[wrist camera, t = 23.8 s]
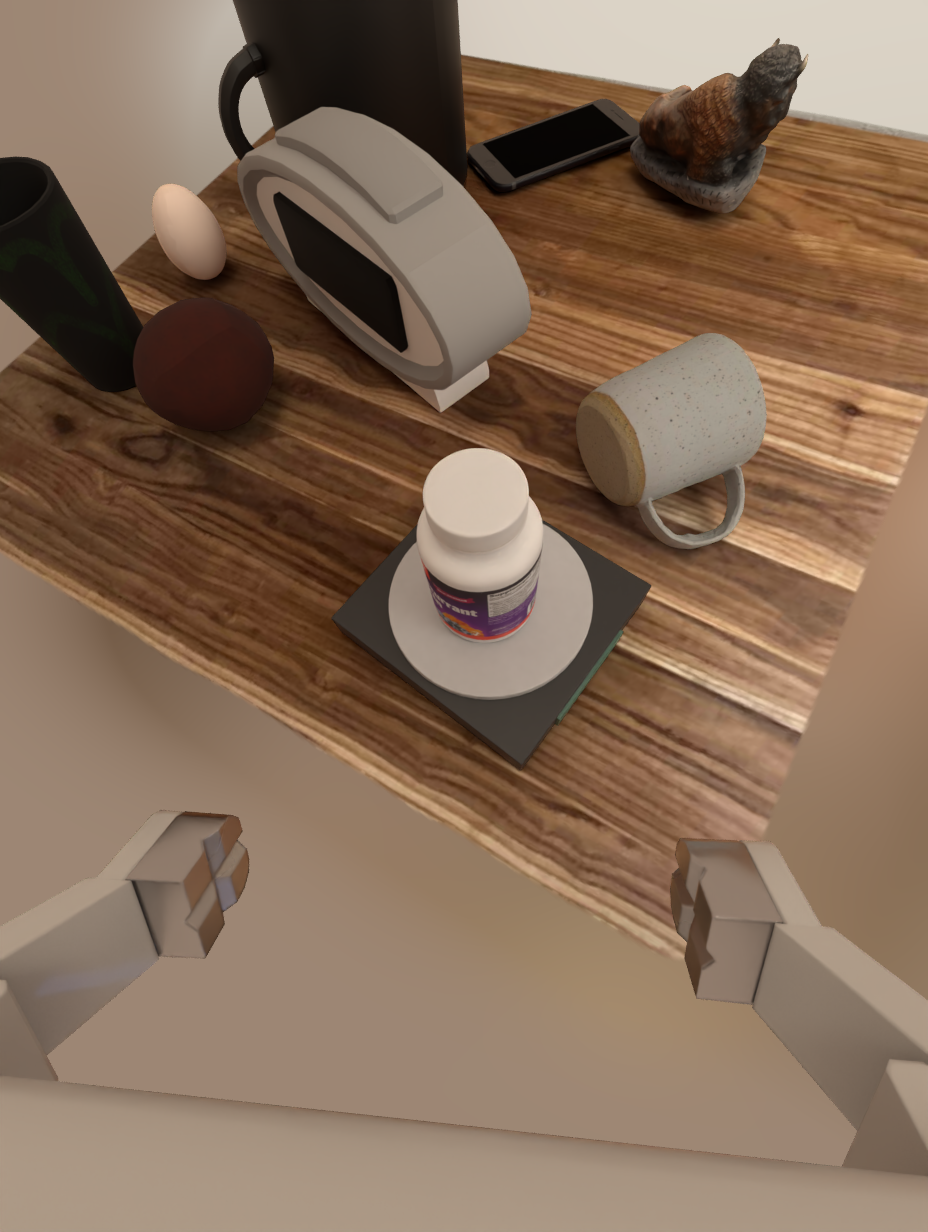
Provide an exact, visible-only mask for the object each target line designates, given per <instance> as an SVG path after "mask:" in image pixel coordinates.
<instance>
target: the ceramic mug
mask: <svg viewBox="0 0 928 1232" xmlns="http://www.w3.org/2000/svg"><path fill="white" fill-rule="evenodd" d="M766 415H767V414H766V403H765V397H764V392H763V388H762V385H761V382H760V379H759V376H758V373H757V371H756V368H755V366H754V365H753V363H752V362H751V360H750V358H749V357H748V356H747V355H746V353H745V352H744V350H743V349H742V348H741V347H740V346H739V345H738V344H737V343H735V342H734V341H733V340H731V339H729V338H727V337H725V336H724V335H720V334H716V333H706V334H702V335H699V336H697V337H695V338H693V339H691V340H689V341H687V342H685V343H683V344H681V345H679V346H677V347H675V348H673V349H671V350H669V351H667V352H665V353H663V354H661V355H659V356H657V357H655V358H653V359H651V360H649V361H647V362H645V363H643V364H641V365H639V366H637V367H635V368H633V369H631V370H629V371H627V372H624V373H622V374H620V375H618V376H616V377H614V378H612V379H610V380H608V381H607V382H605V383H603V384H602V385H600V386H599V387H598V388H596V389H595V390H594V391H592V392H591V393H589V394H588V395H587V396H586V397H585V398H584V400H583V401H582V402H581V405H580V407H579V409H578V413H577V418H576V436H577V442H578V447H579V450H580V454H581V457H582V460H583V463H584V465H585V468H586V470H587V471H588V473H589V475H590V477H591V479H592V481H593V482H594V484H595V485H596V487H597V488H598V489H599V491H600V492H601V493H602V494H603V495H604V496H605V497H606V498H607V499H609V500H610V501H612V502H614V503H616V504H618V505H621V506H637V507H638V509H639V512H640V514H641V517H642V520H643V522H644V524H645V525H646V526H647V527H648V529H649V530H650V531H651V533H652V534H653V535H654V536H655V537H656V538H657V539H658V540H660V541H661V542H663V543H664V544H666V545H668V546H671V547H675V548H680V549H694V548H698V547H702V546H705V545H708V544H711V543H714V542H717V541H719V540H721V539H723V538H724V537H726V536H727V535H728V534H730V533H731V532H732V530H733V529H734V528H735V527H736V525H737V523H738V521H739V519H740V517H741V514H742V511H743V507H744V500H745V486H744V480H743V475H742V470H741V467H740V465H742V464H744V463H746V462H747V461H748V460H749V459H750V458H751V457H752V456H753V455H754V454H755V453H756V452H757V450H758V449H759V447H760V444H761V442H762V440H763V437H764V432H765V427H766ZM720 474H723V476H724V480H725V484H726V490H727V510H726V514H725V517H724V520H723V522H722V523H721V525H719V526H718V527H717V528H715V529H713V530H710V531H707V532H704V533H701V534H698V535H693V534H688V533H687V534H685V535H676V534H674V533H672V532H671V531H670V530H669V529H668V528H667V527H665V526H664V524H663V522H662V521H661V519H660V518H659V516H658V515H657V514H656V510H655V508H654V507H653V505H652V501H654V500H656V499H660V498H662V497H664V496H666V495H669V494H671V493H674V492H677V491H679V490H680V489H682V488H685V487H687V486H691V485H693V484H696V483H699V482H702V481H704V480H707V479H710V478H712V477H714V476H716V475H720Z"/></svg>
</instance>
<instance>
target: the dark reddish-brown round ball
mask: <svg viewBox="0 0 928 1232" xmlns="http://www.w3.org/2000/svg"><path fill="white" fill-rule="evenodd" d="M273 366H274V356H273V351H272V347H271V345H270V343H269V341H268V339H267V337H266V335H265V333H264V332H263V330H262V329H261V327H260V326H259V324H258V323H257V322H256V321H254V320H253V319H252V318H251V317H249V316H248V315H247V314H245V313H244V312H243V311H241V310H239V309H237V308H236V307H234V306H232V305H230V304H227V303H224V302H221V301H218V300H215V299H213V298H194V299H184V300H180V301H178V302H176V303H174V304H172V305H170V306H169V307H167V308H165V309H163V310H161V311H159V312H158V313H157V314H156V315H155V316H154V317H153V318H152V319H150V320H149V321H148V322H147V323H146V324H145V326H144V327H143V329H142V331H141V333H140V335H139V337H138V339H137V342H136V346H135V350H134V357H133V369H134V376H135V383H136V386H137V388H138V390H139V392H140V394H141V396H142V398H143V399H144V401H145V403H146V404H147V405H148V406H149V407H150V408H151V409H152V410H153V411H154V412H155V413H157V414H158V415H159V416H161V417H162V418H164V419H166V420H168V421H170V422H172V423H174V424H176V425H178V426H182V427H186V428H189V429H194V430H200V431H222V430H230V429H232V428H235V427H237V426H239V425H242V424H244V423H246V422H248V421H249V420H250V419H251V418H252V416H253V415H254V414H255V413H256V412H257V411H258V410H259V409H260V407H261V406H262V405H263V403H264V401H265V399H266V396H267V394H268V392H269V389H270V387H271V385H272V380H273Z"/></svg>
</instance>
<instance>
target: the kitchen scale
mask: <svg viewBox="0 0 928 1232" xmlns="http://www.w3.org/2000/svg"><path fill="white" fill-rule="evenodd" d="M542 523H543V546H542V554H541V562H540V571H539V578H538V585H537V592H536V600H535V604H534V608H533V611H532V613H531V615H530V617H529V619H528V620H527V622H526V623H525V624H524V625H523V627H522V628H521V629H520V630H518V631H517V632H516V633H514V634H513V635H511V636H509V637H507V638H505V639H503V640H500V641H496V642H490V643H480V642H473V641H469V640H466V639H464V638H462V637H460V636H458V635H456V634H455V633H453V632H452V631H451V630H450V629H449V628H448V627H447V626H446V625H445V624H444V623H443V622H442V620H441V618H440V617H439V615H438V612H437V610H436V608H435V605H434V601H433V598H432V595H431V591H430V588H429V585H428V581H427V578H426V574H425V571H424V567H423V564H422V561H421V558H420V554H419V550H418V546H417V526H418V524H417V525H416V526H415V527H414V528H413V530H412V531H411V532H410V533H409V534H408V535H407V536H406V537H405V538H404V539H403V540H402V542H401V543H400V544H399V545H398V546H397V547H396V548H395V549H394V550H393V551H392V552H391V553H390V555H389V556H388V557H387V558H386V559H385V560H384V561H383V562H382V563H381V564H380V565H379V567H378V568H377V569H376V570H375V571H374V572H373V573H372V574H371V575H370V576H369V577H368V578H367V580H366V581H365V582H364V583H363V584H362V585H361V586H360V587H359V588H358V589H357V590H356V592H355V593H354V594H353V595H352V596H351V597H350V598H349V599H348V600H347V601H346V602H345V604H344V605H343V606H342V607H341V608H340V609H339V610H338V611H337V612H336V613H335V614H334V615H333V617H332V618H331V619H332V620H333V621H334V623H335V624H336V625H337V626H338V628H339V629H340V630H341V632H342V633H344V634H345V635H346V636H347V637H349V638H350V639H351V640H353V641H354V642H355V643H356V644H358V645H359V646H360V647H362V648H363V649H364V650H365V651H367V652H368V653H369V654H371V655H372V656H373V657H375V658H376V659H377V660H378V661H380V662H381V663H382V664H384V665H385V666H386V667H387V668H389V669H390V670H391V671H393V672H394V673H395V674H396V675H398V676H399V677H400V678H402V679H403V680H404V681H405V682H407V683H408V684H409V685H411V686H412V687H413V688H414V689H416V690H417V691H418V692H420V693H421V694H422V695H423V696H425V697H426V698H427V699H429V700H430V701H431V702H433V703H434V704H435V705H436V706H438V707H439V708H440V709H442V710H443V711H444V712H445V713H447V714H448V715H449V716H451V717H452V718H453V719H454V720H456V721H457V722H458V723H460V724H461V725H462V726H463V727H465V728H466V729H467V730H469V731H470V732H471V733H472V734H474V735H475V736H476V737H478V738H479V739H480V740H482V741H483V742H484V743H485V744H487V745H488V746H489V747H491V748H492V749H493V750H494V751H496V752H497V753H498V754H500V755H501V756H502V757H503V758H505V759H506V760H507V761H509V762H510V763H511V764H512V765H514V766H515V767H516V768H518V769H519V770H522V769H523V767H524V766H525V764H526V763H527V762H528V760H529V759H530V757H531V756H532V755H533V753H534V752H535V751H536V749H537V748H538V746H539V745H540V744H541V742H542V741H543V739H544V738H545V737H546V735H547V734H548V732H549V731H550V730H551V728H552V727H553V726H554V724H556V725H559V723H560V722H561V720H562V719H563V718H564V716H565V715H566V713H567V712H568V711H569V709H570V708H571V706H572V705H573V704H574V702H575V701H576V700H577V698H578V697H579V695H580V694H581V693H582V691H583V690H584V688H585V687H586V686H587V684H588V683H589V681H590V680H591V679H592V677H593V676H594V674H595V673H596V672H597V670H598V669H599V668H600V666H601V665H602V663H603V662H604V661H605V659H606V658H607V656H608V655H609V654H610V652H611V651H612V649H613V648H614V647H615V645H616V644H617V642H618V641H619V639H620V637H621V636H622V634H623V631H622V630H623V628H624V627H625V626H626V624H627V623H628V621H629V620H630V619H631V617H632V616H633V615H634V613H635V612H636V610H637V609H638V608H639V606H640V605H641V603H642V602H643V600H644V598H645V597H646V595H647V593H648V591H649V590H650V588H651V585H650V584H648V583H647V582H645V581H643V580H642V579H640V578H638V577H637V576H635V575H633V574H632V573H630V572H628V571H627V570H625V569H623V568H622V567H620V566H618V565H617V564H615V563H613V562H612V561H610V560H608V559H607V558H605V557H603V556H602V555H600V554H598V553H597V552H595V551H593V550H592V549H590V548H588V547H587V546H585V545H583V544H582V543H580V542H578V541H577V540H575V539H573V538H572V537H570V536H568V535H567V534H565V533H563V532H562V531H560V530H558V529H557V528H555V527H553V526H552V525H550V524H548V523H547V522H545V521H543V520H542Z"/></svg>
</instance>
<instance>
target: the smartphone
mask: <svg viewBox="0 0 928 1232" xmlns="http://www.w3.org/2000/svg"><path fill="white" fill-rule="evenodd" d="M639 124H640V123H638V122H637V121H636V120H635V119H633V118H632V117H631V116H630V115H629V114H627V113H626V112H625V111H624V110H622V109H621V108H620V107H619V106H617V105H616V104H615V103H614V102H612V101H611V100H608V99H600V100H597V101H594V102H591V103H588V104H585V105H583V106H580V107H577V108H574V109H572V110H569V111H566V112H563V113H561V114H558V115H555V116H552V117H550V118H547V119H544V120H541V121H539V122H536V123H533V124H530V125H528V126H525V127H522V128H519V129H517V130H514V131H511V132H508V133H506V134H503V135H500V136H497V137H495V138H492V139H489V140H486V141H484V142H481V143H478V144H476V145H473V146H472V147H470V149H469V150H468V152H467V159H468V161H469V162H470V163H471V165H472V166H473V167H474V168H475V169H476V170H477V171H478V172H479V173H480V175H481V176H482V177H483V178H484V179H485V180H486V181H487V182H488V184H489V185H490V186H491V187H492V188H493V189H494V190H496V191H499V192H508V191H511V190H514V189H517V188H520V187H522V186H525V185H528V184H530V183H533V182H536V181H538V180H541V179H544V178H546V177H549V176H552V175H554V174H557V173H560V172H562V171H565V170H568V169H570V168H573V167H576V166H578V165H581V164H584V163H586V162H589V161H592V160H594V159H597V158H600V157H602V156H605V155H608V154H610V153H613V152H616V151H618V150H621V149H624V148H626V147H629V146H631V145H632V144H633V142H634V141H635V140H636V139H637V138H638V137H640V135H639Z"/></svg>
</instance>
